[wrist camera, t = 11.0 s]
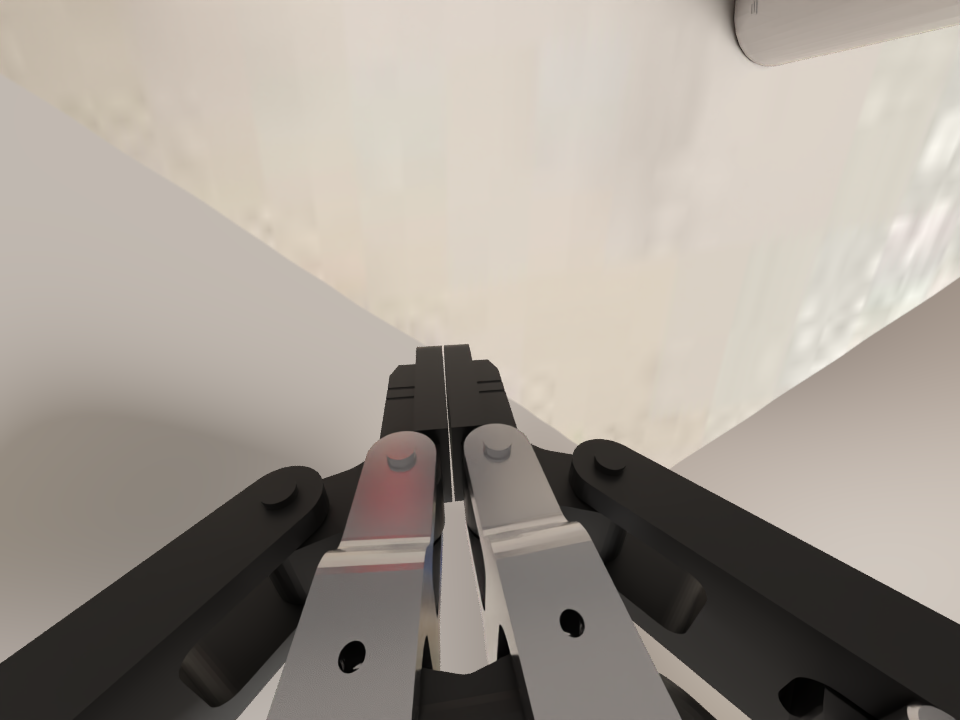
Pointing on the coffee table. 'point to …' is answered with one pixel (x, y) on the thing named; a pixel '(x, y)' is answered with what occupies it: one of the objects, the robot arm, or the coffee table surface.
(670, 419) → the coffee table surface
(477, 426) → the robot arm
